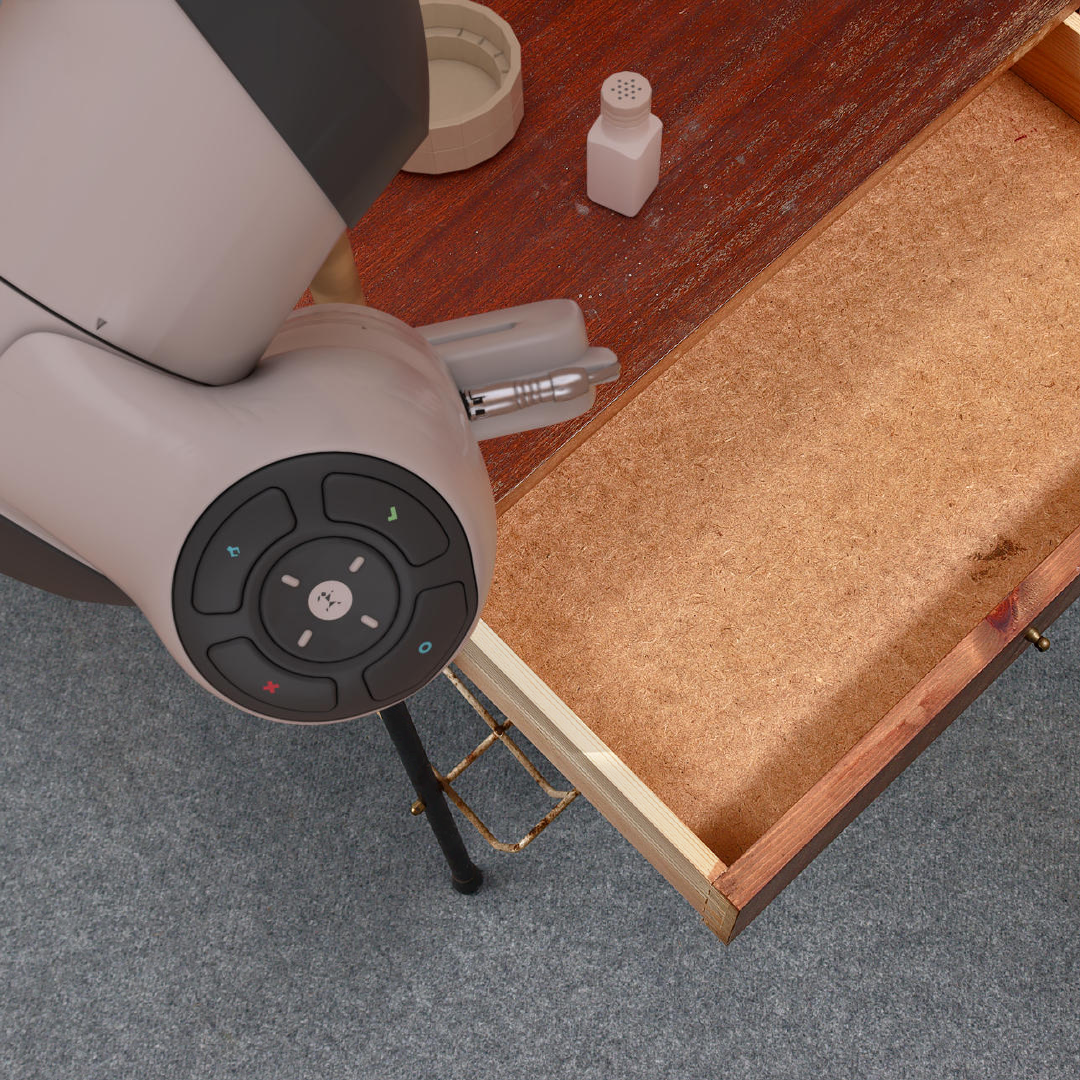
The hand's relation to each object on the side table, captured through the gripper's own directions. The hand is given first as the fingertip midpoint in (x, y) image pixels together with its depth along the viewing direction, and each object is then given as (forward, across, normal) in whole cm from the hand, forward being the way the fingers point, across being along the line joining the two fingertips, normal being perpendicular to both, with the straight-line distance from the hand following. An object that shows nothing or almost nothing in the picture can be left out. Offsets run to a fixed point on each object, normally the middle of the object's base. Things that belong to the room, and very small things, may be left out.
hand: (343, 365), depth 57 cm
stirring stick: (+22, 0, +10) cm, 24 cm away
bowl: (+40, -9, -10) cm, 42 cm away
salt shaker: (+33, -20, -2) cm, 39 cm away
